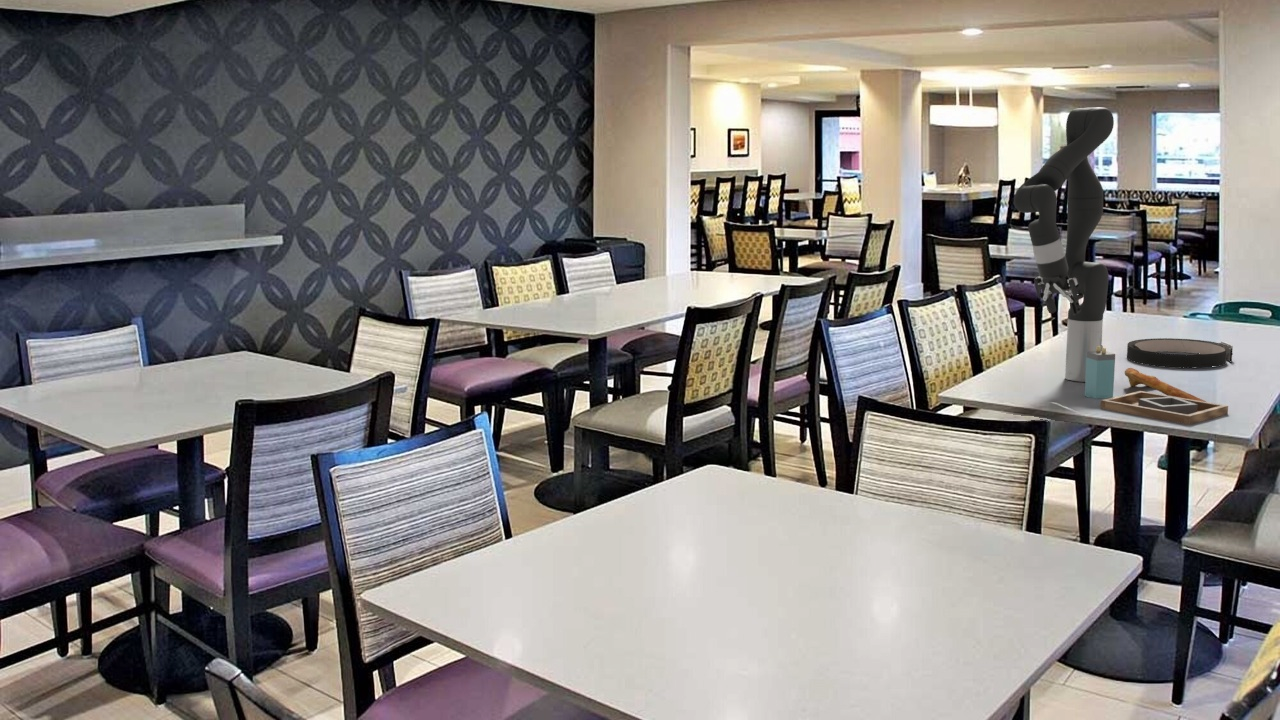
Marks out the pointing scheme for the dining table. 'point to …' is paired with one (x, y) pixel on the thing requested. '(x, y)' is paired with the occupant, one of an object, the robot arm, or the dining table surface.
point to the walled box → (1130, 405)
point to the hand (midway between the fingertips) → (1064, 313)
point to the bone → (1156, 384)
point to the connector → (1100, 374)
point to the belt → (1208, 351)
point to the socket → (1169, 404)
